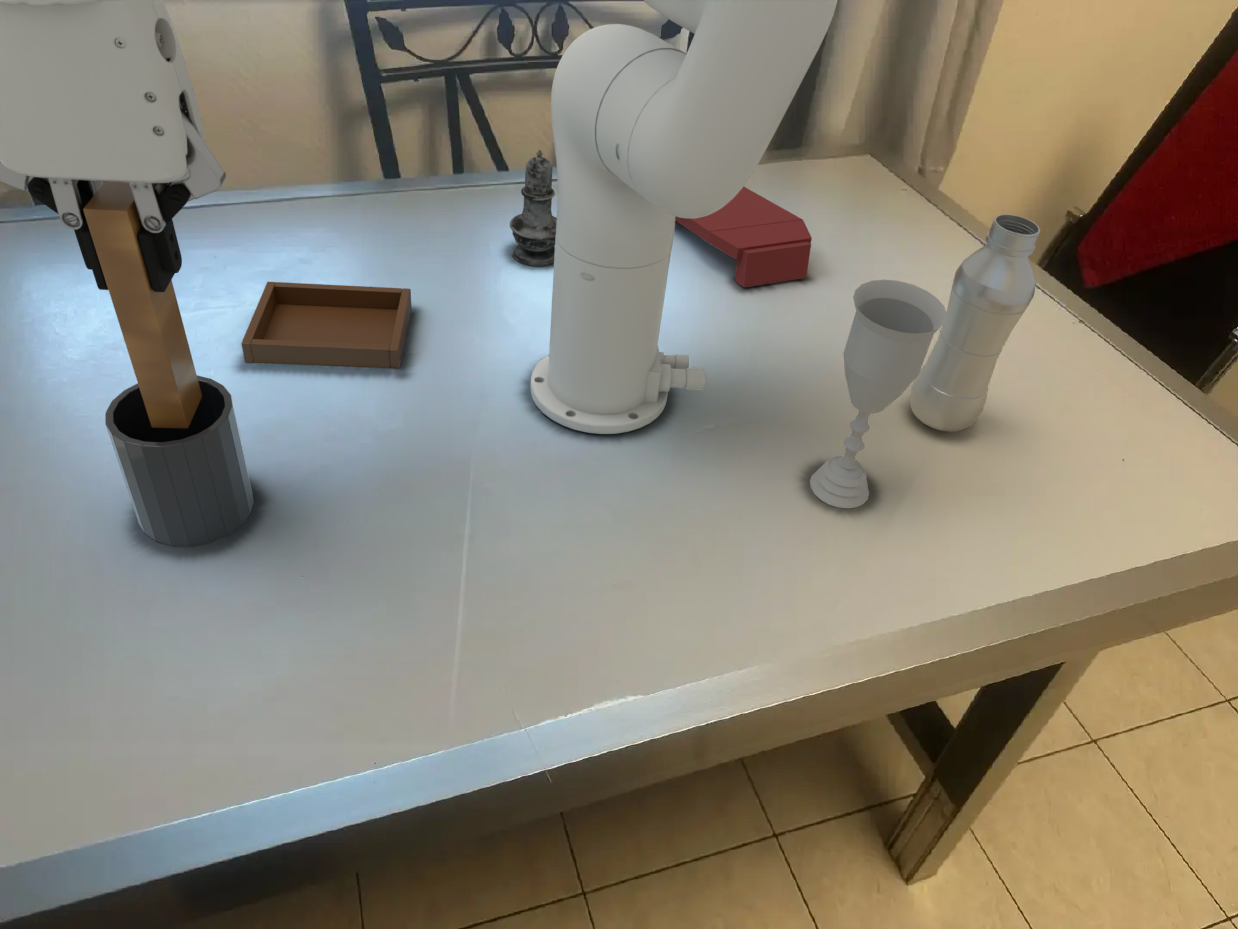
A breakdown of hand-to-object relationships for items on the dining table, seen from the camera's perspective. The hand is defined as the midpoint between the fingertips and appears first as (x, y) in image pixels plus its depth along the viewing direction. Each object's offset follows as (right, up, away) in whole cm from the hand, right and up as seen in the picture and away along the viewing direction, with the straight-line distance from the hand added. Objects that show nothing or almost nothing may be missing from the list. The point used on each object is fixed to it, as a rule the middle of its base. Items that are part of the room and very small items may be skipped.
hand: (138, 277), depth 59 cm
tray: (+2, +1, +32) cm, 32 cm away
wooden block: (-1, -8, +7) cm, 11 cm away
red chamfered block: (+42, +16, +56) cm, 71 cm away
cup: (-2, -15, +13) cm, 20 cm away
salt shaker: (+20, +12, +47) cm, 53 cm away
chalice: (+48, -14, +22) cm, 55 cm away
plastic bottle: (+60, -7, +31) cm, 68 cm away
